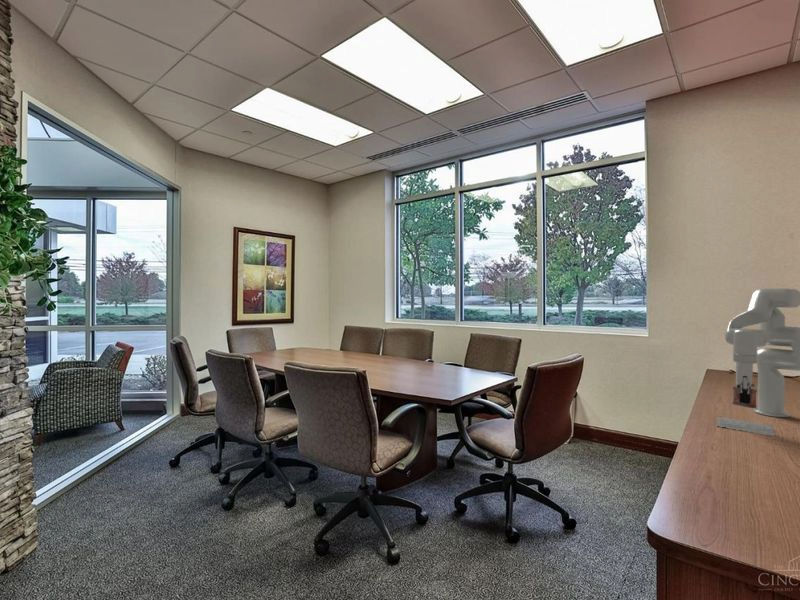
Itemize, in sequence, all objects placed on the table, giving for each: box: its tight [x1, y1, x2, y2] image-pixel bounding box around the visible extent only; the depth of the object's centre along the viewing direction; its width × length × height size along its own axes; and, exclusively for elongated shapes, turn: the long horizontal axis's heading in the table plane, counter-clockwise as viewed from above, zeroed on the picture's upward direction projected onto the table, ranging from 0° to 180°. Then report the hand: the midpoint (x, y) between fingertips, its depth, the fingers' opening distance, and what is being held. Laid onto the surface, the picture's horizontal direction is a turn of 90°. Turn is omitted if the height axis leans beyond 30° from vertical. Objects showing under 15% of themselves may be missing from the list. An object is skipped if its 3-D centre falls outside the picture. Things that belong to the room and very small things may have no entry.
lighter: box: [732, 383, 758, 409], centre depth 168 cm, size 8×3×10 cm, turn 25°
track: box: [716, 416, 776, 437], centre depth 168 cm, size 12×18×2 cm, turn 51°
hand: (744, 401), depth 168 cm, fingers closed on lighter, 4 cm apart
